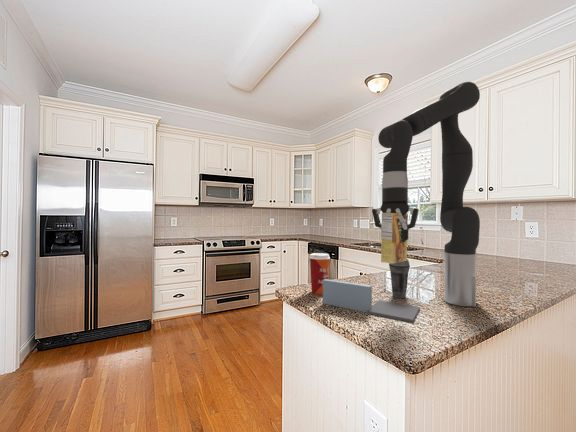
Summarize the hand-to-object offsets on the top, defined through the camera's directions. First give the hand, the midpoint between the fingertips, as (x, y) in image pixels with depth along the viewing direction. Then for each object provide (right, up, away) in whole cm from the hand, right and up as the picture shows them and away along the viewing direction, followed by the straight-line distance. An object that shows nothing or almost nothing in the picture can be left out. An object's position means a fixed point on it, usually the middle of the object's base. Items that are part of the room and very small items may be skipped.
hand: (394, 241), depth 86 cm
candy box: (0, -7, 0) cm, 7 cm away
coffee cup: (-21, -22, +21) cm, 37 cm away
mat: (0, -22, 0) cm, 22 cm away
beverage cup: (+8, -22, +16) cm, 29 cm away
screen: (-14, -22, +4) cm, 27 cm away
